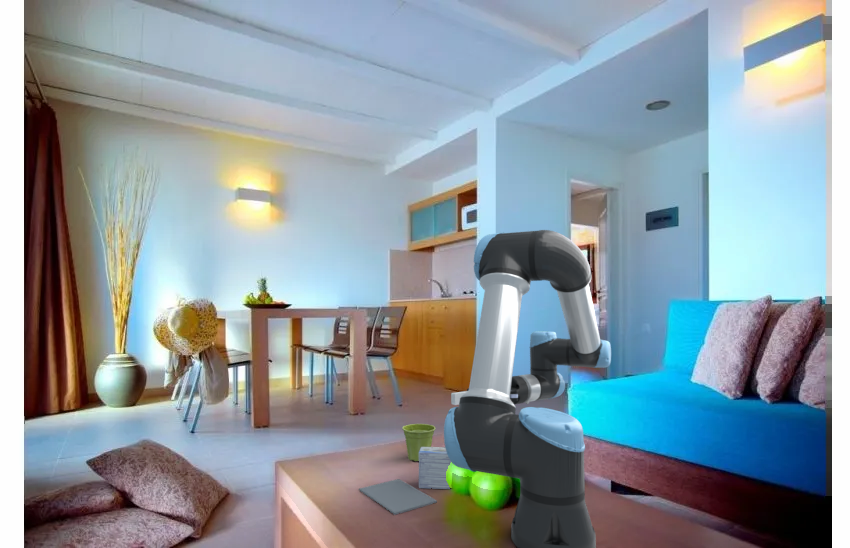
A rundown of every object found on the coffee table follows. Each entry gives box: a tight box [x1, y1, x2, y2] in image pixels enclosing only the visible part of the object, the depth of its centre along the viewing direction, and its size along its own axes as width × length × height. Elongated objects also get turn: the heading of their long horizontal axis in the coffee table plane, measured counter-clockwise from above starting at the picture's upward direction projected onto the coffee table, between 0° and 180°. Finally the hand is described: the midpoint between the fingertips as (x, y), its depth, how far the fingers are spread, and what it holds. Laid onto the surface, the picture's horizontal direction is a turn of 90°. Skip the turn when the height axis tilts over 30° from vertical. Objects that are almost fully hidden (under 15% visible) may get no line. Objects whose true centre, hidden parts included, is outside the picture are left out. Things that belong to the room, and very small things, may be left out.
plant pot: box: [401, 423, 436, 462], centre depth 137 cm, size 9×9×9 cm
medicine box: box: [418, 446, 451, 490], centre depth 116 cm, size 8×4×9 cm, turn 84°
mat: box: [358, 478, 438, 516], centre depth 110 cm, size 16×11×1 cm
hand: (453, 399), depth 120 cm, fingers closed
